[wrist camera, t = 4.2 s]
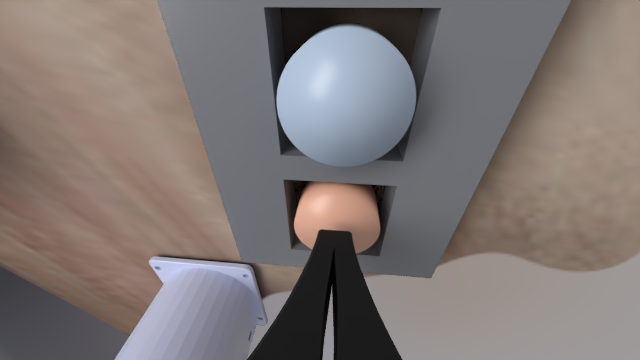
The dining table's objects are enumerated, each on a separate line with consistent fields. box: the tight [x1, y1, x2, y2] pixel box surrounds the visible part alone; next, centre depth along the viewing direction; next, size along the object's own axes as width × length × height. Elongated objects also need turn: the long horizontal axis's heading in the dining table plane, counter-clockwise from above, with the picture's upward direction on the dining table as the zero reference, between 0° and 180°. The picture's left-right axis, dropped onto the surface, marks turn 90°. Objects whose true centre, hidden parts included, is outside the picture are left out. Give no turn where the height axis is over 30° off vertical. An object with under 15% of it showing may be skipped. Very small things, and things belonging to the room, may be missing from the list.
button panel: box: [157, 0, 571, 278], centre depth 9 cm, size 20×11×2 cm, turn 0°
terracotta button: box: [294, 181, 380, 254], centre depth 12 cm, size 4×4×2 cm
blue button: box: [277, 23, 416, 167], centre depth 8 cm, size 4×4×2 cm
